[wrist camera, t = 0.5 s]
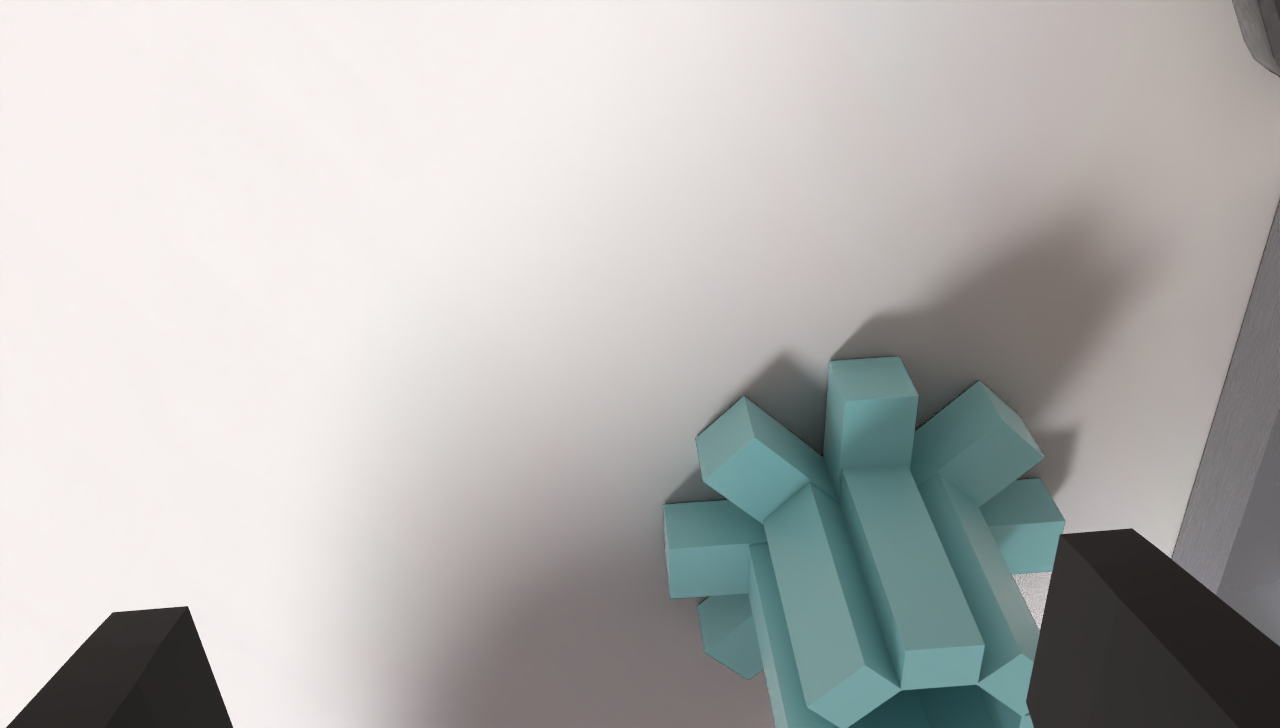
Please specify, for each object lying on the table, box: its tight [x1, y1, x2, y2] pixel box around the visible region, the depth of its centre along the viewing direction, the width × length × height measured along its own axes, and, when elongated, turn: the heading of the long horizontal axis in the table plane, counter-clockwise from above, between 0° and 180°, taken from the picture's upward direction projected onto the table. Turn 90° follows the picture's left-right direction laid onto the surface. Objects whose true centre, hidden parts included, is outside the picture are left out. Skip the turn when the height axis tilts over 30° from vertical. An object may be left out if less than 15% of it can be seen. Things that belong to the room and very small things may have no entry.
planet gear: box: [663, 356, 1065, 728], centre depth 18 cm, size 7×7×5 cm
